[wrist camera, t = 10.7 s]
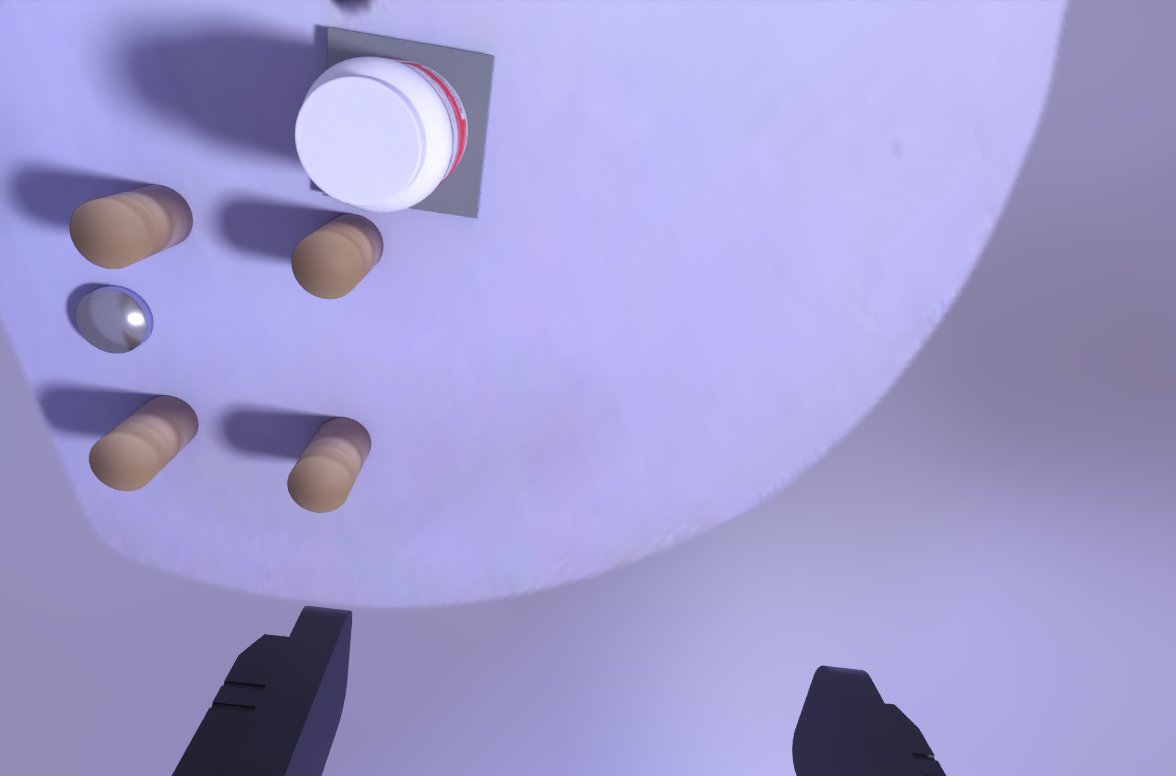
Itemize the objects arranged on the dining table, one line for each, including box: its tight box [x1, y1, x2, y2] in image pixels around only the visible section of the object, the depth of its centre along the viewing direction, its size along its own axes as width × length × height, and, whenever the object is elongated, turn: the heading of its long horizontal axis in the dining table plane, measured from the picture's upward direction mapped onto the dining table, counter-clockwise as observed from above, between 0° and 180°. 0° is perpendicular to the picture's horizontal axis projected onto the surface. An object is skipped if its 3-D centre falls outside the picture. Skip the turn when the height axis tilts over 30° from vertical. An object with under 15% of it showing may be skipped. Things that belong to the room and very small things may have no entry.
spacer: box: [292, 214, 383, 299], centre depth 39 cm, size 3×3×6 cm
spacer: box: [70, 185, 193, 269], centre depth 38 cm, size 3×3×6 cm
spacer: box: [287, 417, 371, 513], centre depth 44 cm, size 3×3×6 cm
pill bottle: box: [295, 56, 468, 212], centre depth 34 cm, size 6×6×11 cm
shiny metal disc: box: [76, 285, 153, 353], centre depth 42 cm, size 4×4×1 cm
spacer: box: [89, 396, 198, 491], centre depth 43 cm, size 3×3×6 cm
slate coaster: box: [323, 27, 495, 218], centre depth 39 cm, size 8×8×1 cm
